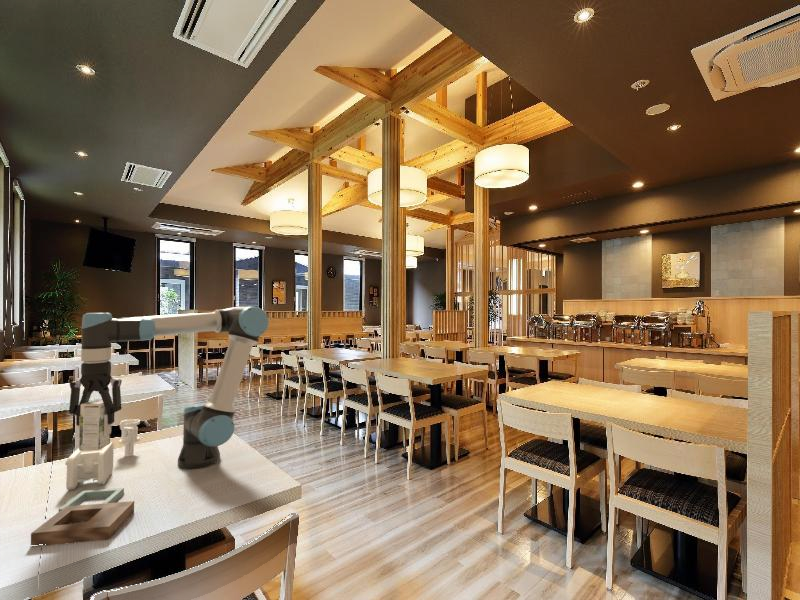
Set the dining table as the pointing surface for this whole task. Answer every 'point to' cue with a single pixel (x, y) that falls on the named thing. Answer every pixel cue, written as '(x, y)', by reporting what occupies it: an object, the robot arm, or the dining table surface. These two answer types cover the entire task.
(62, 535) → the socket board
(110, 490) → the green square frame
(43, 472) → the dining table surface
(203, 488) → the dining table surface
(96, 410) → the syrup box
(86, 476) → the cable organizer
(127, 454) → the white upright piece
